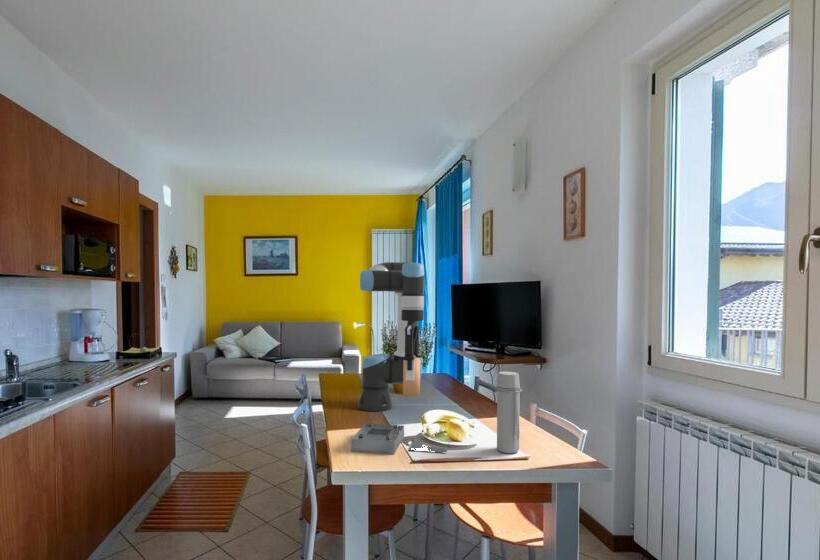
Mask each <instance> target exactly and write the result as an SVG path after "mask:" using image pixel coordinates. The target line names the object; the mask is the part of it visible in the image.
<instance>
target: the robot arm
mask: <svg viewBox="0 0 820 560" xmlns="http://www.w3.org/2000/svg"><path fill="white" fill-rule="evenodd" d="M425 273H426V272H425V266H424V264H423V263H421V262H420V263H419V262H403V261H402V262H400V261H398V262H396V261H395V262H391V261H388V262H387V261H386V262H381V263H378V264H374V265H372V266H370V268H369V269H366V270H361V271H360V273H359V276H360V277H359V289H360V291H362V292H363V291H364V292H368V293H369V292H394V294H395V295H396V296H397V338H396V339H397V341H396V343H397V344H396V345H397V349H396V350H395V351H394V352H393V356H391V357H390V355H389V353H376V354H369V355H366V356H364V358H363V360H362V367H361V369H362V381H361V382H362V383H361V384H362V388H361V393H360V396H359V399H358V401H357V402H358V403H357V408H358V409H359V410H360V411H367V412H383V411H388V410H391V409H392V408H393V402H392V397H391V394H390V391H389V385H392V384H394V385H396V384H397V385H403V359H404V360H406V380H412V381H414V355H415V358H420V380H422V379H421V378H422V374H423V363H424V359H423V357H421V355H420V326H418V322H423V321H424V319H425V318H424V316H425V312H424V308H425V294H424V293H425Z"/></svg>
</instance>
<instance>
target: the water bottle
mask: <svg viewBox="0 0 820 560" xmlns="http://www.w3.org/2000/svg"><path fill="white" fill-rule="evenodd" d="M520 386H521V385H520V375H519V373H518V372H514V371H499V372H498V373H497V383H496V388H497V389H496V390H497V391H496V394H497V395H496V404H497V406H496V449H497V450H498V451H499V452H501V453H504V454H516V453H518V452H519V451H520V433H521V432H520V401H521V400H520V397H521V395H520V393H521V392H522V390H523V389H522V388H521V387H520Z"/></svg>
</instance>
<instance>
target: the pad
mask: <svg viewBox="0 0 820 560" xmlns="http://www.w3.org/2000/svg"><path fill="white" fill-rule="evenodd" d="M419 439H420V438H414V439H412V443H411V445H410V446H409V449H408V451H409V450H411V448H414V449H415V448H421V446H422V445H423V444H421V443H420V442H421V441H420V440H419ZM424 447H425V446H424ZM422 448H423V447H422ZM427 448H428V450H429V451H430V449H431V451H435V452H448V448H447V449H444V448H437V447H429V446H428V447H427ZM415 450H416V449H415Z"/></svg>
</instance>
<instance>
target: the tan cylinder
mask: <svg viewBox="0 0 820 560" xmlns="http://www.w3.org/2000/svg"><path fill="white" fill-rule="evenodd" d="M420 392H421V379H420V358H415V355H414V381H412V380H406V360H404V359H403V384H402V395H403V396H405V397H419V396H420Z"/></svg>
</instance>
